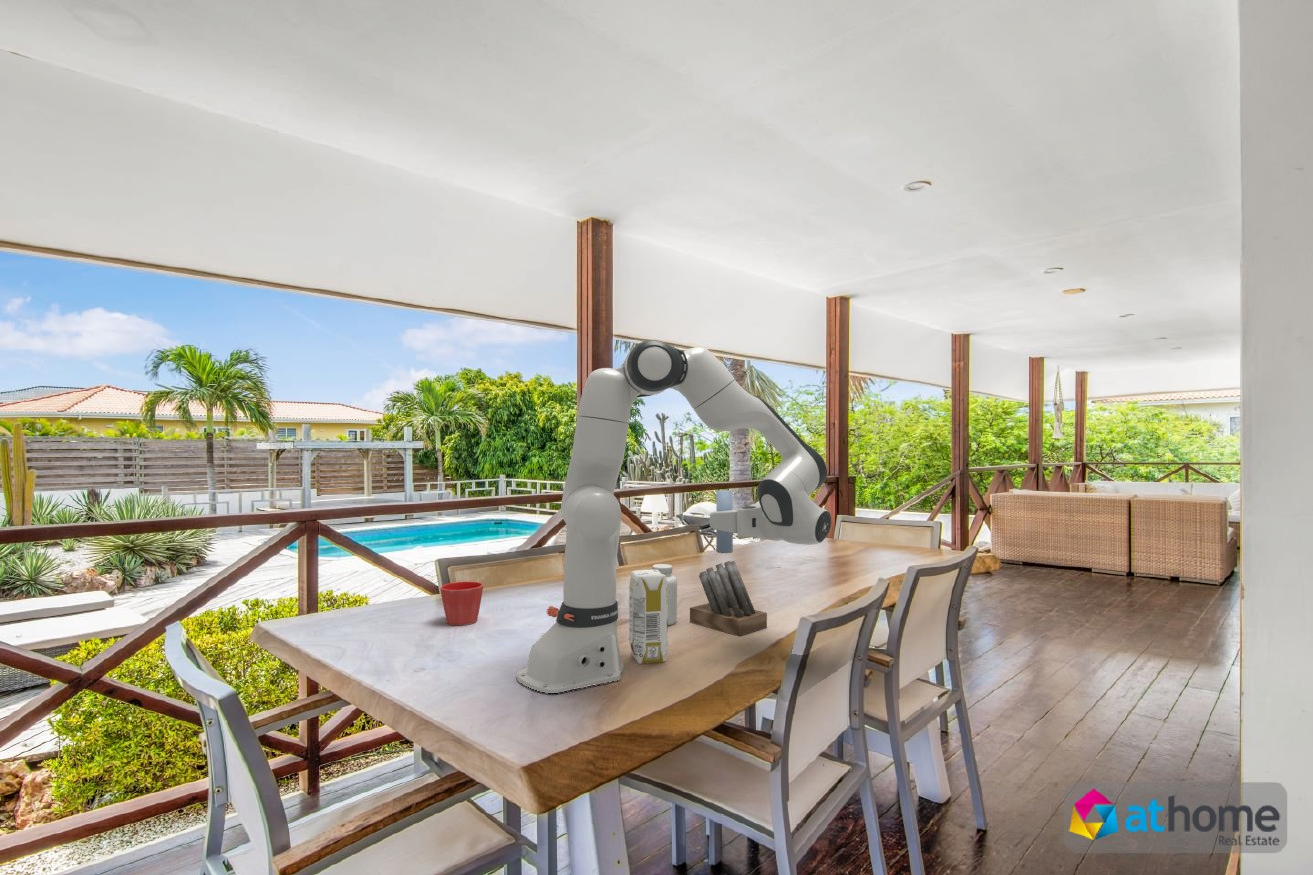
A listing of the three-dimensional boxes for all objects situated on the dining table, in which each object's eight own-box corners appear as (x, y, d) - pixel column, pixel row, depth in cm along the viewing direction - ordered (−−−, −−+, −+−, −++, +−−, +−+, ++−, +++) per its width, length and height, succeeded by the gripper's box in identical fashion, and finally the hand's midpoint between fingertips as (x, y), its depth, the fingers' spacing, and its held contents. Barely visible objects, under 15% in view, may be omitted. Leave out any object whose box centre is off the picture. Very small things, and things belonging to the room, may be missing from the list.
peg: (725, 553, 162) (725, 491, 162) (712, 551, 165) (713, 490, 165) (736, 552, 164) (736, 491, 164) (723, 549, 167) (724, 490, 167)
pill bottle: (677, 626, 173) (677, 568, 173) (646, 626, 174) (646, 568, 174) (676, 618, 181) (676, 562, 181) (647, 617, 182) (647, 562, 182)
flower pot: (437, 619, 180) (437, 583, 180) (479, 614, 185) (479, 579, 185) (443, 629, 170) (443, 591, 170) (486, 624, 175) (486, 587, 175)
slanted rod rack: (766, 630, 173) (767, 562, 172) (739, 638, 165) (739, 568, 165) (717, 617, 185) (717, 553, 185) (689, 624, 178) (690, 558, 178)
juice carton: (636, 665, 143) (636, 577, 143) (627, 653, 152) (627, 569, 152) (670, 662, 145) (670, 575, 145) (659, 650, 154) (659, 568, 154)
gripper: (793, 503, 162) (748, 499, 172) (737, 509, 148) (693, 504, 158) (793, 529, 162) (748, 524, 172) (737, 537, 148) (693, 531, 158)
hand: (721, 514), depth 165 cm, fingers closed on peg, 4 cm apart
